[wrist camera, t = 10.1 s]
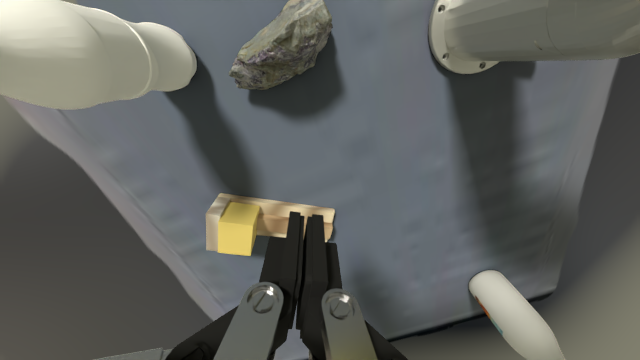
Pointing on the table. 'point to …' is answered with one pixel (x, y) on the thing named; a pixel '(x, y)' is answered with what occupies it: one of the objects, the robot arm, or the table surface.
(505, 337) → the milk bottle
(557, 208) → the table surface
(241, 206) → the block
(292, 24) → the mineral rock
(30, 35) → the white bottle
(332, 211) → the rail
